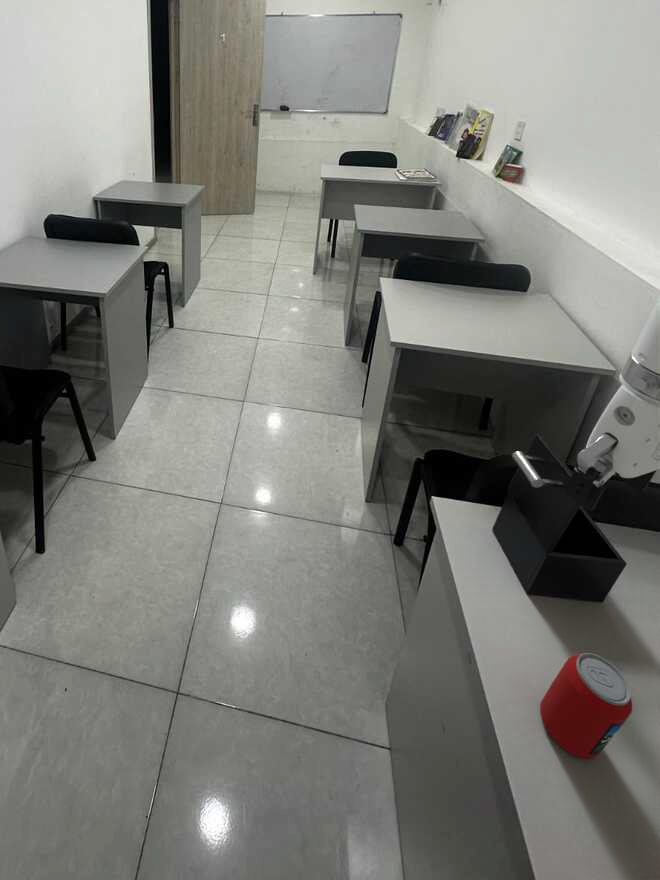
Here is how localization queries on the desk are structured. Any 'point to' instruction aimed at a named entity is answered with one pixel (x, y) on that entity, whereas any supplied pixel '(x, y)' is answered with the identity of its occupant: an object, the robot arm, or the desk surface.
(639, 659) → the desk surface
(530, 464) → the lid
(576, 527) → the box
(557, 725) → the beverage can
